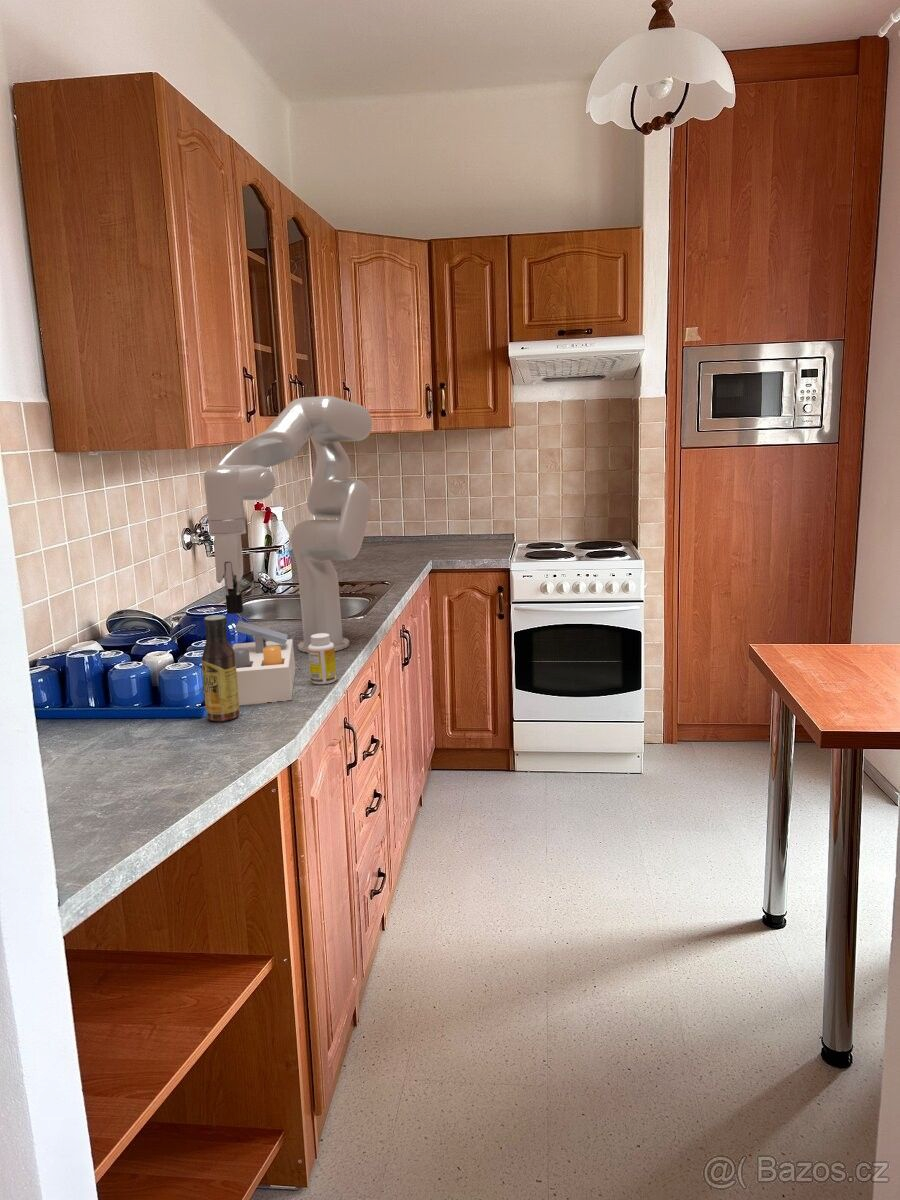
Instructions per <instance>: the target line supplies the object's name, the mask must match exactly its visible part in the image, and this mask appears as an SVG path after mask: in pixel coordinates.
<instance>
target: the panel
mask: <svg viewBox="0 0 900 1200" xmlns="http://www.w3.org/2000/svg"><path fill="white" fill-rule="evenodd" d="M267 646H280V647H281V656H282V664H279V665H267V666H264V657H263V648H264V647H267ZM232 648H233V650H234V649H240V648H247V649H249V657H250V667H244V668H236V672H237V685H238V697H239V706H248V705H249V706H250V705H259V704H260V705H261V704H268V703H267V702H272V703H278V702H277V701H283V702H288V701H287V700H293V690H294V684H293V683H294V682H295V673H296V662H295V653H294V639H293V638H289V639H288V638H287V641H286V644H285V645H282V644H279V643H275V642H272V641H269V640H265V639H263V636H259V637H255V636H254V641H253V642H244V643H243V642H241V643H234V644H233V645H232Z"/></svg>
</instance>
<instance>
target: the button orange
mask: <svg viewBox="0 0 900 1200" xmlns="http://www.w3.org/2000/svg"><path fill="white" fill-rule="evenodd" d="M263 657H264V666H267V665H279V664H282V656H281V647H280V646H267V647H264V648H263Z"/></svg>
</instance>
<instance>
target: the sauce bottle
mask: <svg viewBox="0 0 900 1200" xmlns="http://www.w3.org/2000/svg"><path fill="white" fill-rule="evenodd" d="M227 623H228V621H227V616H226V615H223V614H214V615H207V616H205V617H204V618H203V625H204V627H205V636H206V637H205V640H206V641H205V644H204V648H203V653H202V657H201V670H202V682H203V683H202V684H203V693H204V705H205V711H206V714H207V718H208V720H209V721H213V722H217V723H220V722H226V721H230V720H234V719H236V718H237V717H239V716H240V711H239V709H240V705H239V697H238V685H237V672H236V664H235V654H234V650H233V648H232V647H233V645H232V644H230V642H229V641H228V635H227Z"/></svg>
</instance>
